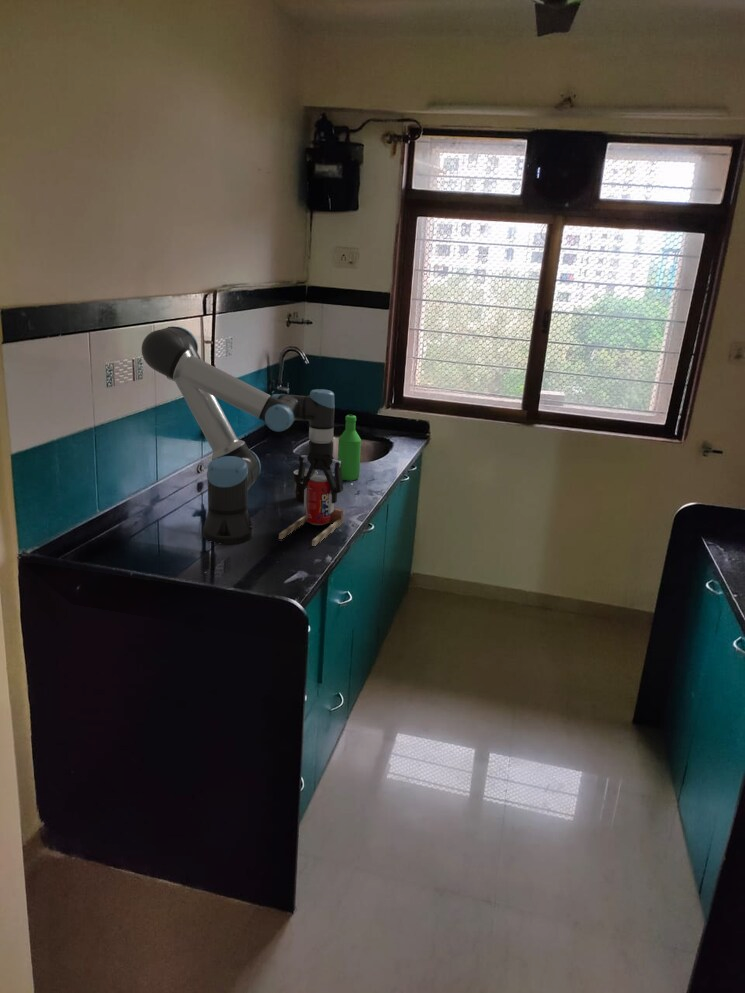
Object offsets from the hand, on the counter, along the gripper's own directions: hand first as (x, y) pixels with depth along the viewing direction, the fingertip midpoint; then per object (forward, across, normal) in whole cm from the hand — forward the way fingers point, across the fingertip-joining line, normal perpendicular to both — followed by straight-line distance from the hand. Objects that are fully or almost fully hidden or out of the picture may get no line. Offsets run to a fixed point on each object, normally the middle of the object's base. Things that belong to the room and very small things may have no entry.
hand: (318, 509), depth 225 cm
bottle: (+6, +11, -54) cm, 55 cm away
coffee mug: (+6, +15, -24) cm, 29 cm away
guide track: (+6, 0, +5) cm, 7 cm away
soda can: (+4, 0, 0) cm, 4 cm away
